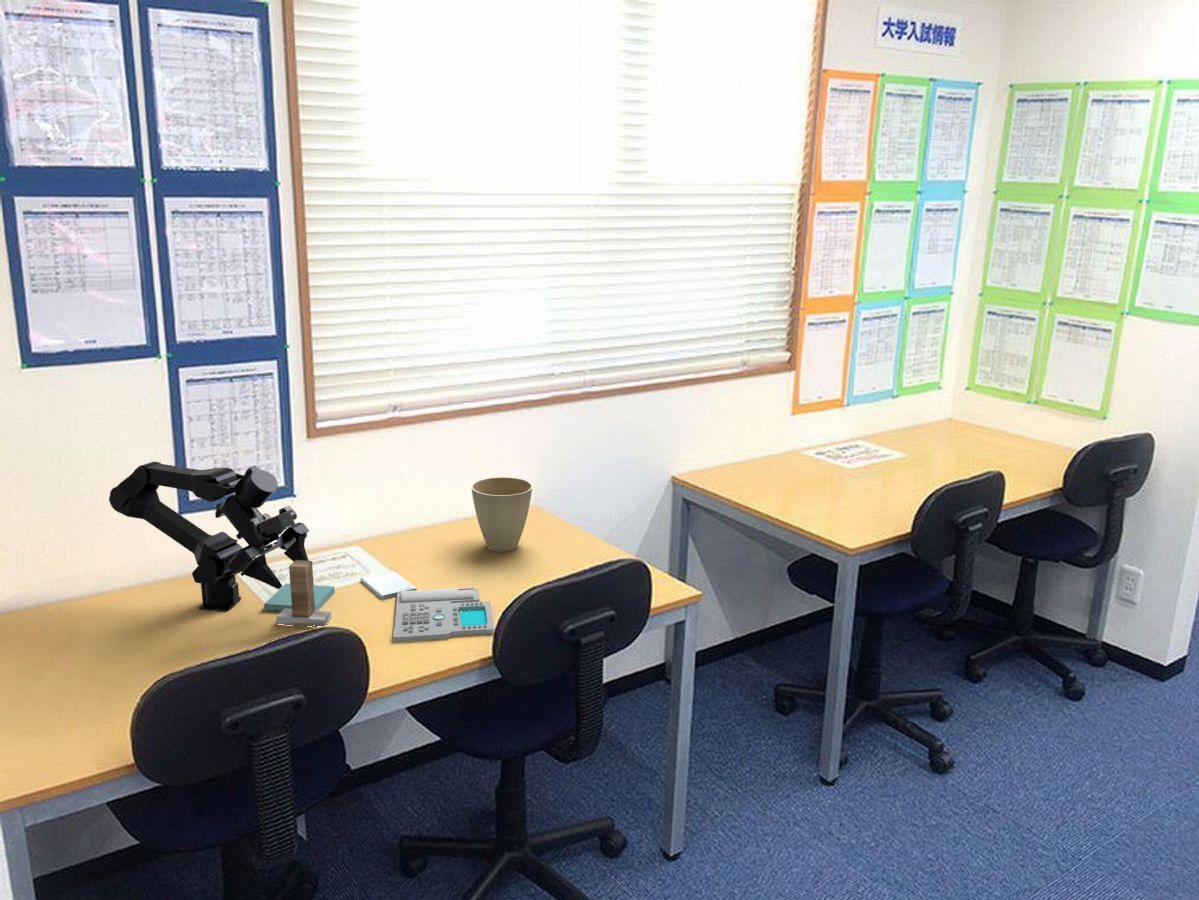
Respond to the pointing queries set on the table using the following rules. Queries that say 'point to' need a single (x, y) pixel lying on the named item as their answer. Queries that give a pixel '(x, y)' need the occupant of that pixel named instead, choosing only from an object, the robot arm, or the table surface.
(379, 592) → the hard drive
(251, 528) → the robot arm
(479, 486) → the plant pot
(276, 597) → the plate
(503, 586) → the table surface
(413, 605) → the office telephone
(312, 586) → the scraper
